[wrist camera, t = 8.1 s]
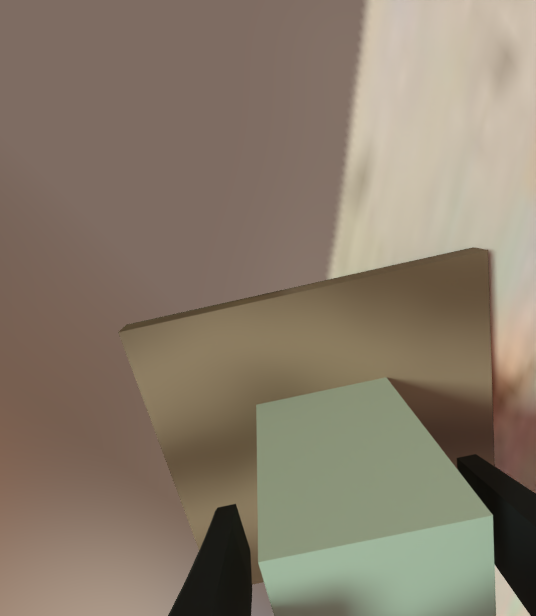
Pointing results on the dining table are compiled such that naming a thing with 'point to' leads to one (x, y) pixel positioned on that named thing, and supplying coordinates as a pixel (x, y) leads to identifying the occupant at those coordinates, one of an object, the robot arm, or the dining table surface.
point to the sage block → (366, 511)
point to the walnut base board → (314, 369)
